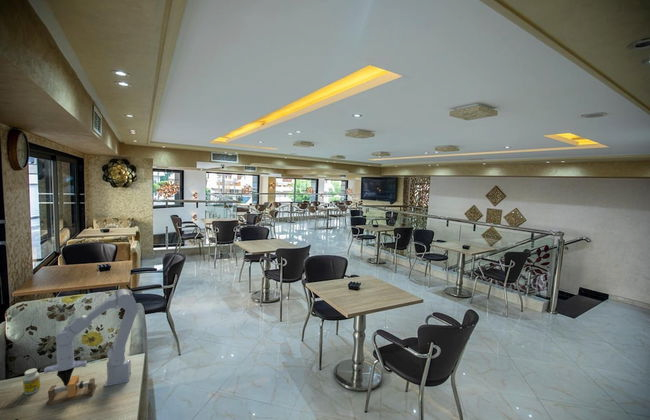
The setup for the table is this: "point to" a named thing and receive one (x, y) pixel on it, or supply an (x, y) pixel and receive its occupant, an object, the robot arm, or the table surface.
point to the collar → (72, 386)
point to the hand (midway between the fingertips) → (67, 384)
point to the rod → (77, 385)
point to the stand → (63, 395)
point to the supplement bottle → (31, 381)
